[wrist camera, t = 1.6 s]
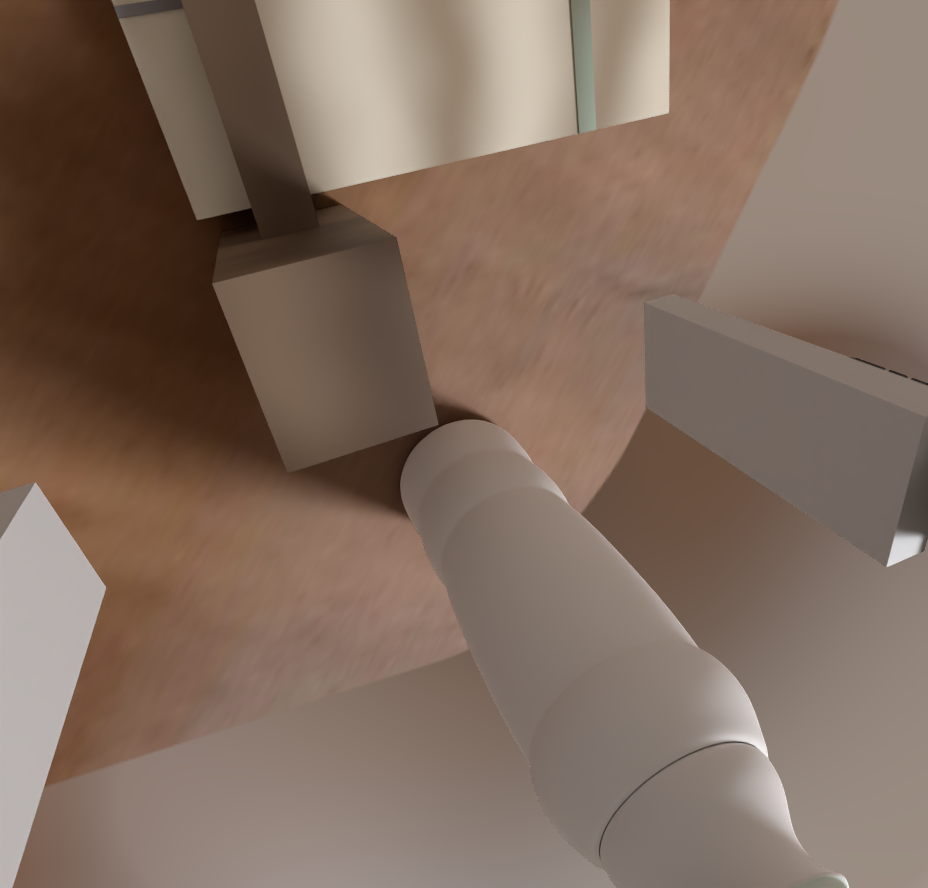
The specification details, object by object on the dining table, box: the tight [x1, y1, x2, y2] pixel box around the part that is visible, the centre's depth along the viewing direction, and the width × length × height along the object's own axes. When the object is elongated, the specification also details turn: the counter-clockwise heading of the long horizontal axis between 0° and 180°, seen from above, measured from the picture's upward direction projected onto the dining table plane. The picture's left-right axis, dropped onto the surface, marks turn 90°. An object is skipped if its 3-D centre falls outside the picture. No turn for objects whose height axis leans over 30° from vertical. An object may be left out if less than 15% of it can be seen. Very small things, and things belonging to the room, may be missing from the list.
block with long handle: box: [181, 0, 439, 473], centre depth 19 cm, size 5×14×10 cm, turn 10°
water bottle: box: [400, 420, 849, 888], centre depth 22 cm, size 7×7×25 cm
